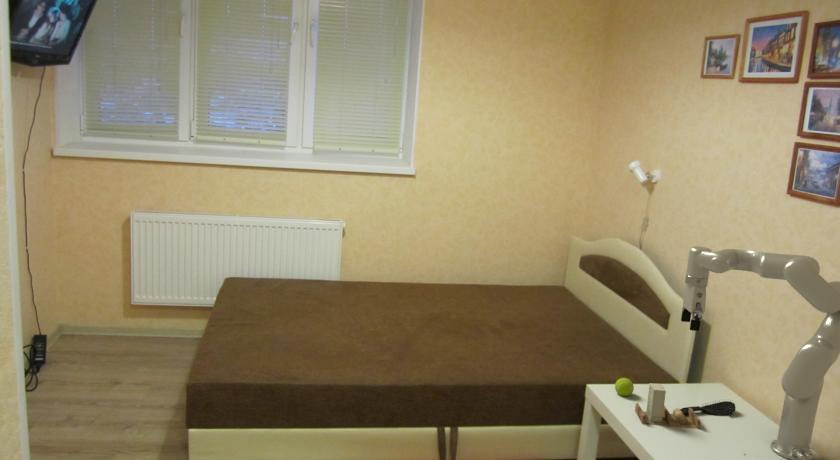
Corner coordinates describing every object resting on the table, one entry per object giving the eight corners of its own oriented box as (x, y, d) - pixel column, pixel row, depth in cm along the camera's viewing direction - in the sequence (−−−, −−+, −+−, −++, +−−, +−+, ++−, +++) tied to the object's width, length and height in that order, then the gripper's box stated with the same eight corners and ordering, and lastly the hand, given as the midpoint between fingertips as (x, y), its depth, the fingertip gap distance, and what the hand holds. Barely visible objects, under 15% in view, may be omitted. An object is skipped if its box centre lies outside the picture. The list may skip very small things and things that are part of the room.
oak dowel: (688, 424, 233) (687, 417, 232) (679, 425, 233) (678, 418, 233) (681, 415, 240) (680, 408, 239) (673, 416, 240) (672, 409, 239)
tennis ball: (613, 390, 260) (615, 373, 259) (632, 393, 258) (634, 376, 257) (614, 397, 254) (616, 380, 252) (632, 400, 252) (635, 383, 251)
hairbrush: (670, 402, 245) (725, 395, 252) (669, 412, 245) (724, 404, 253) (685, 413, 237) (741, 405, 244) (684, 422, 238) (740, 414, 245)
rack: (699, 430, 231) (700, 420, 231) (641, 425, 232) (643, 415, 232) (689, 417, 241) (691, 407, 240) (634, 412, 242) (635, 403, 242)
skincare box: (662, 422, 234) (666, 391, 231) (649, 421, 234) (654, 390, 232) (657, 414, 240) (661, 383, 238) (645, 413, 240) (649, 382, 238)
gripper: (715, 288, 228) (708, 334, 231) (698, 275, 245) (692, 319, 248) (693, 286, 228) (687, 333, 232) (678, 273, 245) (672, 317, 248)
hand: (689, 325), depth 240 cm, fingers open, 9 cm apart
